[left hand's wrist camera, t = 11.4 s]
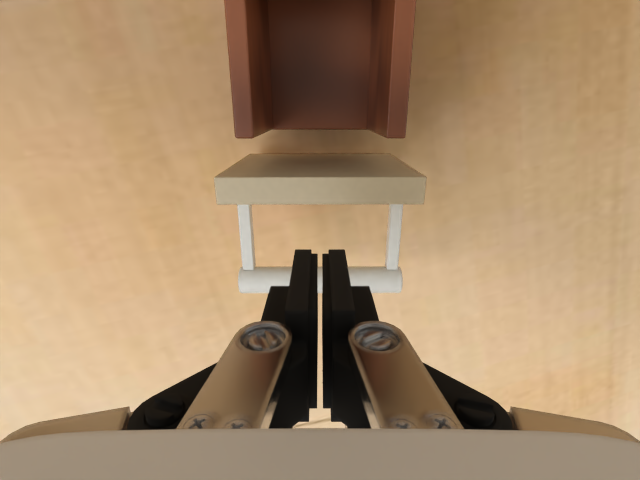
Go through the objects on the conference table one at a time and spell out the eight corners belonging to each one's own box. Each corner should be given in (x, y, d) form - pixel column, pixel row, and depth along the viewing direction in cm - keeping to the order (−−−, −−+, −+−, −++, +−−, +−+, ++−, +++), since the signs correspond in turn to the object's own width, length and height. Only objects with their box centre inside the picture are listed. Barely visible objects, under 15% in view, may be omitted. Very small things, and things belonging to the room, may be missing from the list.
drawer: (384, 251, 25) (412, 314, 17) (256, 251, 25) (227, 315, 17) (414, -209, 17) (493, -473, 9) (225, -209, 17) (146, -472, 9)
